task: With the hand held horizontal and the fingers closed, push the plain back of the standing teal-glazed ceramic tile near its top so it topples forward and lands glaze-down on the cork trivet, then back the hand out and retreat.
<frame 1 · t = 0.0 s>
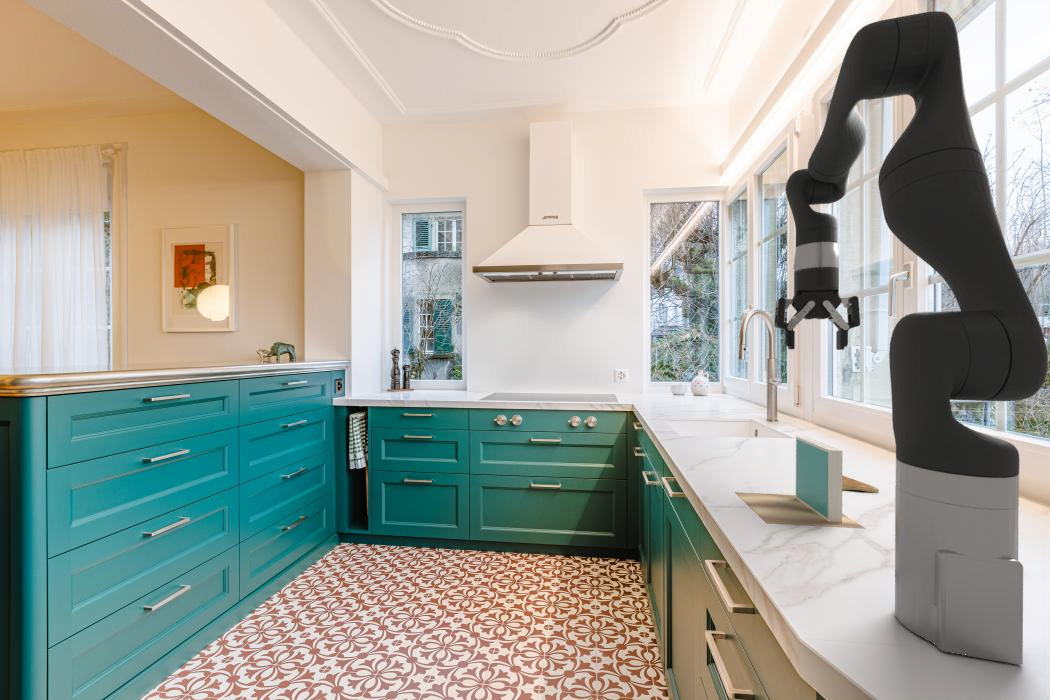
hand: (815, 349, 89), 29 cm above the countertop, fingers open, 8 cm apart
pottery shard: (848, 492, 94), on the countertop
tile: (817, 509, 81), resting on trivet
trivet: (792, 510, 81), on the countertop
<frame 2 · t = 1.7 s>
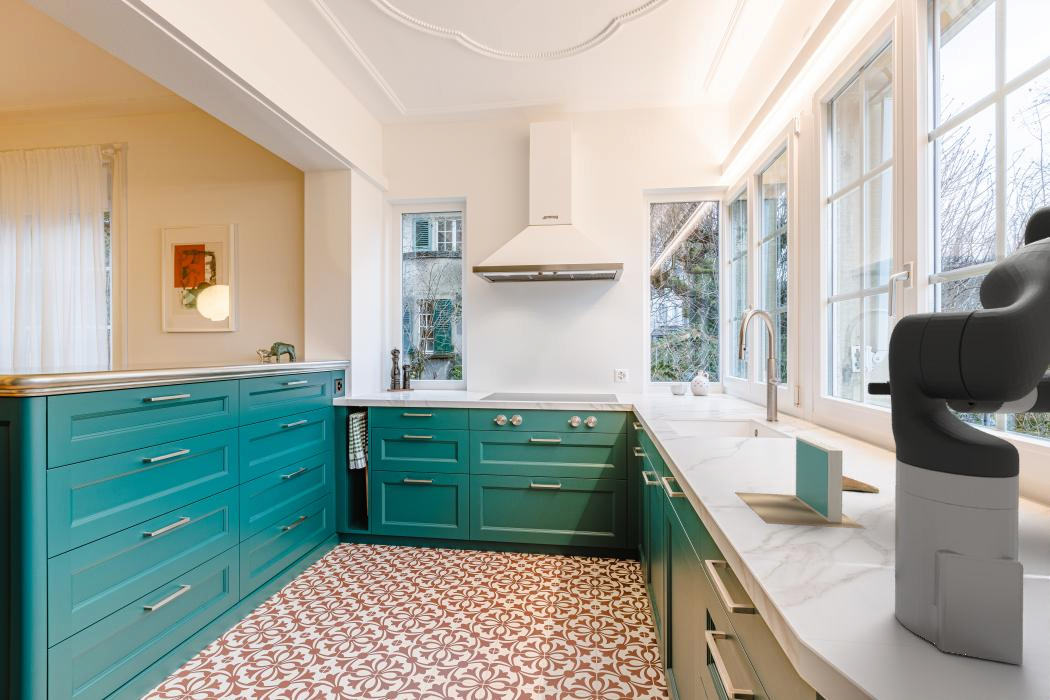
hand: (881, 390, 79), 22 cm above the countertop, fingers open, 6 cm apart
nothing on the countertop moved.
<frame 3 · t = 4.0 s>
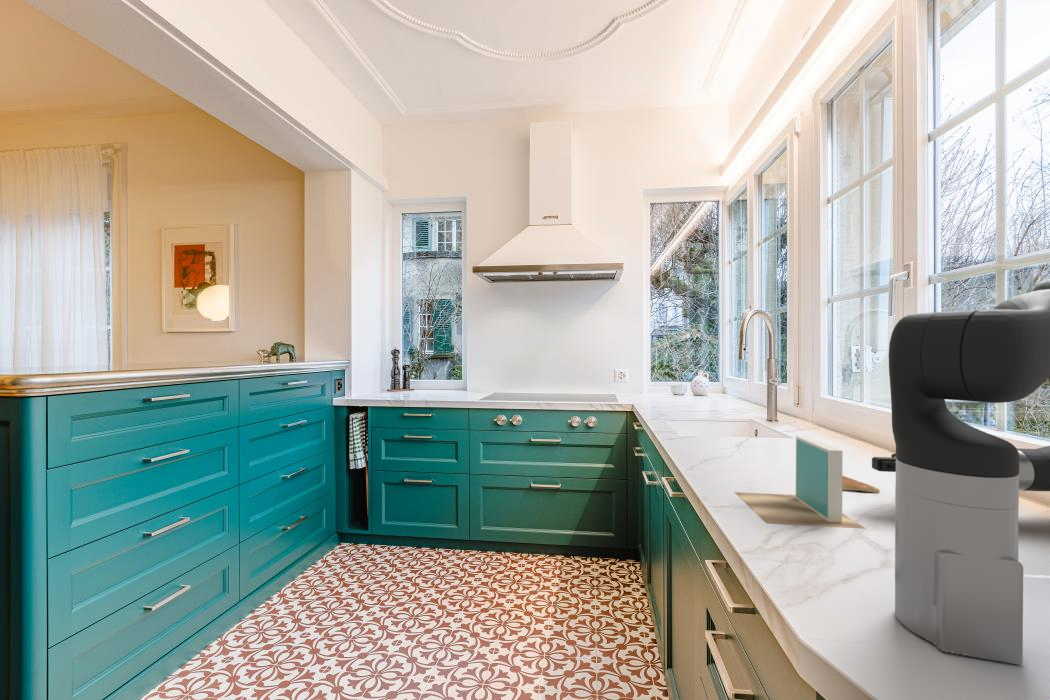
hand: (874, 463, 79), 9 cm above the countertop, fingers closed
nothing on the countertop moved.
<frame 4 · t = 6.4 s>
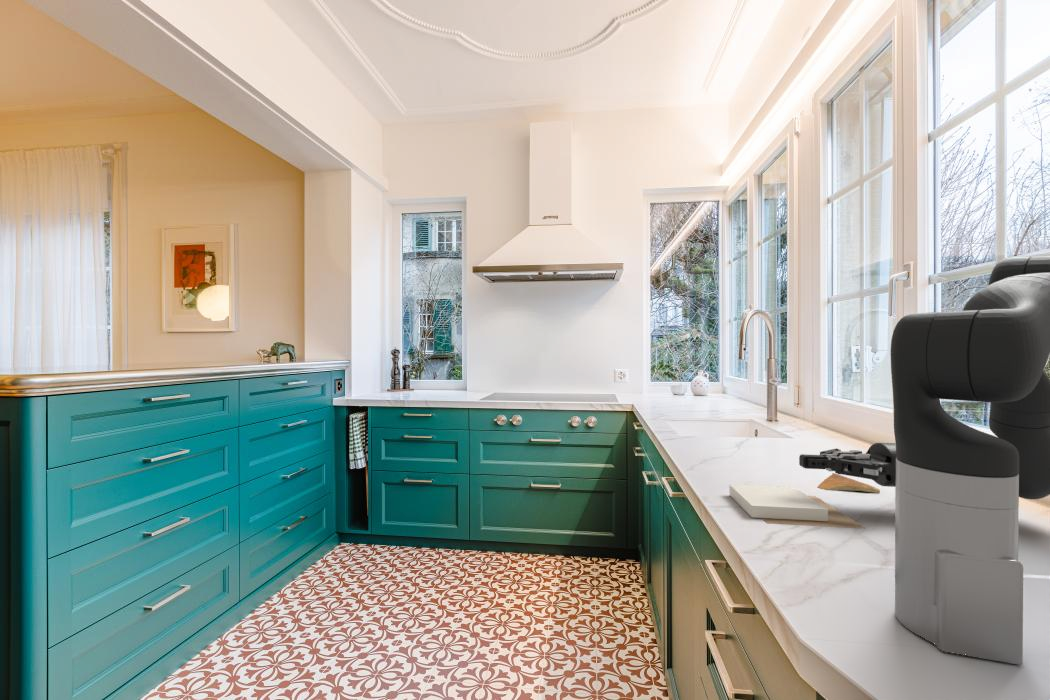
hand: (801, 461, 81), 9 cm above the countertop, fingers closed
tile: (809, 503, 81), point 1 cm above the countertop, tilted 90°, touching trivet
everything else where it was.
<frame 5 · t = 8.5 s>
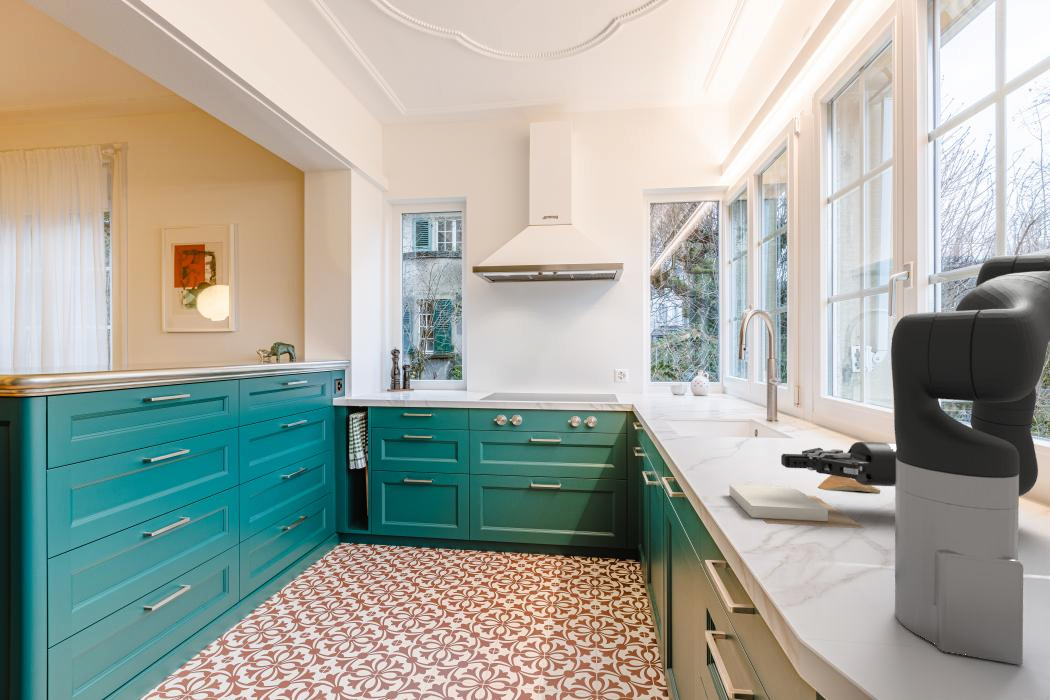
hand: (783, 460, 81), 9 cm above the countertop, fingers closed
nothing on the countertop moved.
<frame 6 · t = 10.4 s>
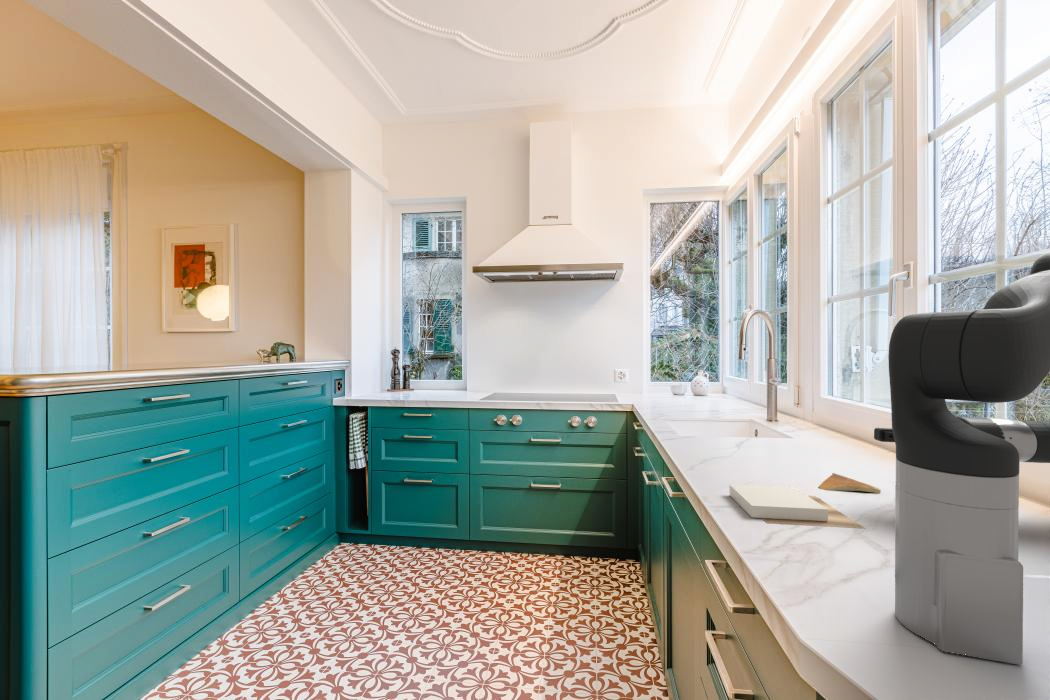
hand: (876, 434, 79), 14 cm above the countertop, fingers closed
nothing on the countertop moved.
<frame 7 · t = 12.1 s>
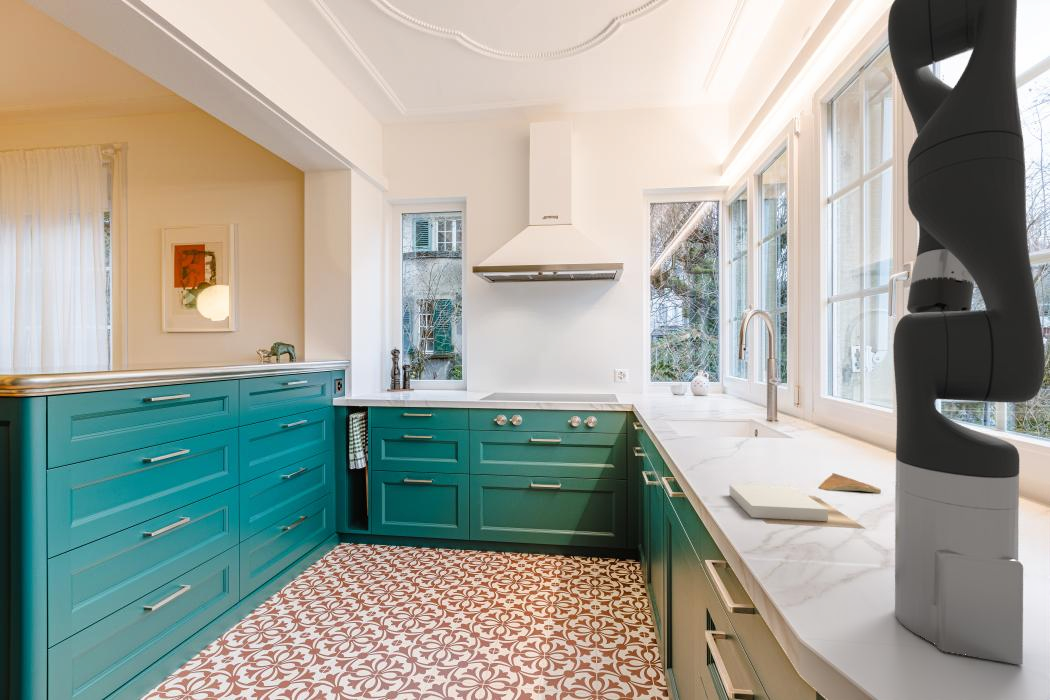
hand: (926, 388, 70), 23 cm above the countertop, fingers closed
nothing on the countertop moved.
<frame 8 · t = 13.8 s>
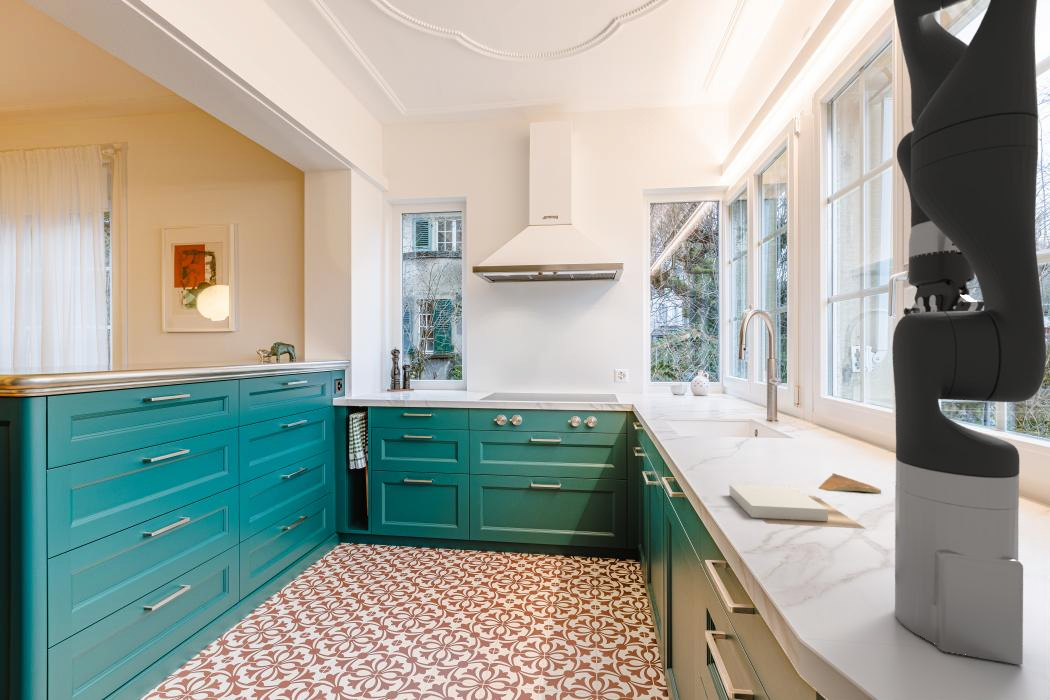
hand: (939, 364, 69), 27 cm above the countertop, fingers closed
nothing on the countertop moved.
at the end: tile tilted 90°; tile inside the target area (3.3 cm from its centre), point 1.5 cm above the countertop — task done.
